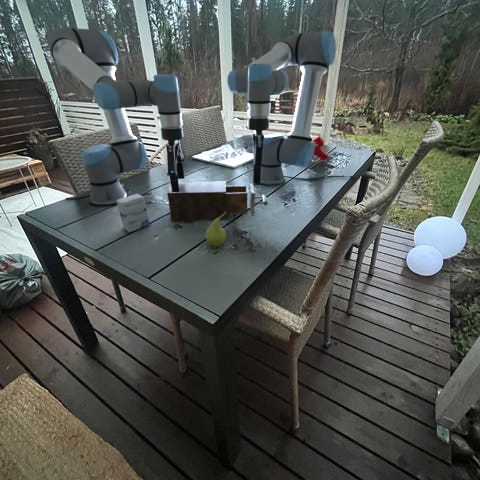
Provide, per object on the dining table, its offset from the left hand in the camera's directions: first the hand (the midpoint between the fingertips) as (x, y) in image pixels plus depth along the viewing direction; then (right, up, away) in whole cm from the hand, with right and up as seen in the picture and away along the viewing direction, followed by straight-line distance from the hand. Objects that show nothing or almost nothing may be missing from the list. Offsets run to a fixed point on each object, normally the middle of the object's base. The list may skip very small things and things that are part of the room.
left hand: (178, 184), depth 105 cm
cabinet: (+8, -11, +7) cm, 15 cm away
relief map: (+15, +33, +75) cm, 83 cm away
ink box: (-15, -16, -2) cm, 23 cm away
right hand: (+31, +1, 0) cm, 31 cm away
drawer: (+22, -9, +7) cm, 25 cm away
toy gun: (+69, +30, +69) cm, 102 cm away
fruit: (+16, -23, -12) cm, 31 cm away
